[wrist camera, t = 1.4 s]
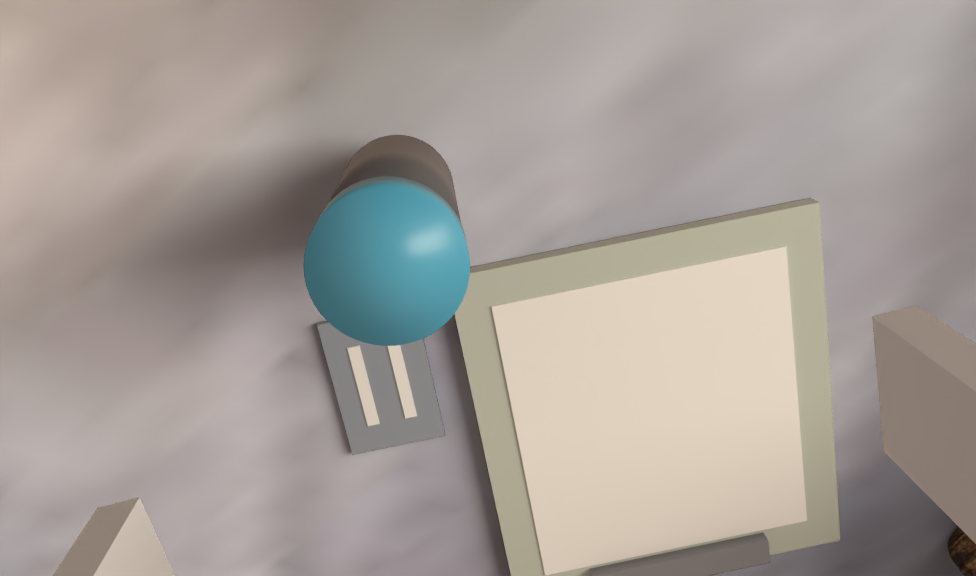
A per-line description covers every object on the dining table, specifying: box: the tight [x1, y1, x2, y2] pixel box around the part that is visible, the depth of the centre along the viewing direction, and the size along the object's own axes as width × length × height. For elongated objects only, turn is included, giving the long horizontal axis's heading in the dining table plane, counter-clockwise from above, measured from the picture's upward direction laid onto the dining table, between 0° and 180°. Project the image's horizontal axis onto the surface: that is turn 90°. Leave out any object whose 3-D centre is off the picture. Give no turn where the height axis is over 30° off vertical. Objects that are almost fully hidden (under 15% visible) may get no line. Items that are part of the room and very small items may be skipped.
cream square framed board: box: [454, 198, 840, 576], centre depth 35 cm, size 16×15×1 cm
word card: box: [317, 321, 445, 455], centre depth 34 cm, size 6×4×1 cm, turn 11°
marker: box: [304, 135, 470, 346], centre depth 26 cm, size 4×4×12 cm
